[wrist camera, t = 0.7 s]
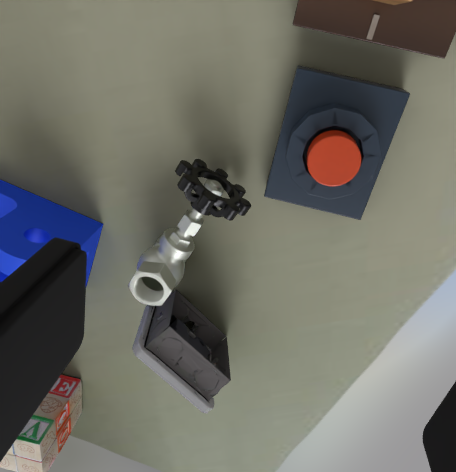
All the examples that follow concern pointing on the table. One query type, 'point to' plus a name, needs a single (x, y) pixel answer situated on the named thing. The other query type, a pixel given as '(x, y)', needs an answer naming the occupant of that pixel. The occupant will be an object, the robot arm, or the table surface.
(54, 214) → the bracket
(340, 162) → the red button
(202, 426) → the table surface
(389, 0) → the oak handle
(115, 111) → the table surface
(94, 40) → the table surface
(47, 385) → the robot arm
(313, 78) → the button box
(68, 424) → the stack of blocks
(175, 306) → the electrical switch
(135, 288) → the valve
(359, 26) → the handle panel
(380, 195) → the table surface
